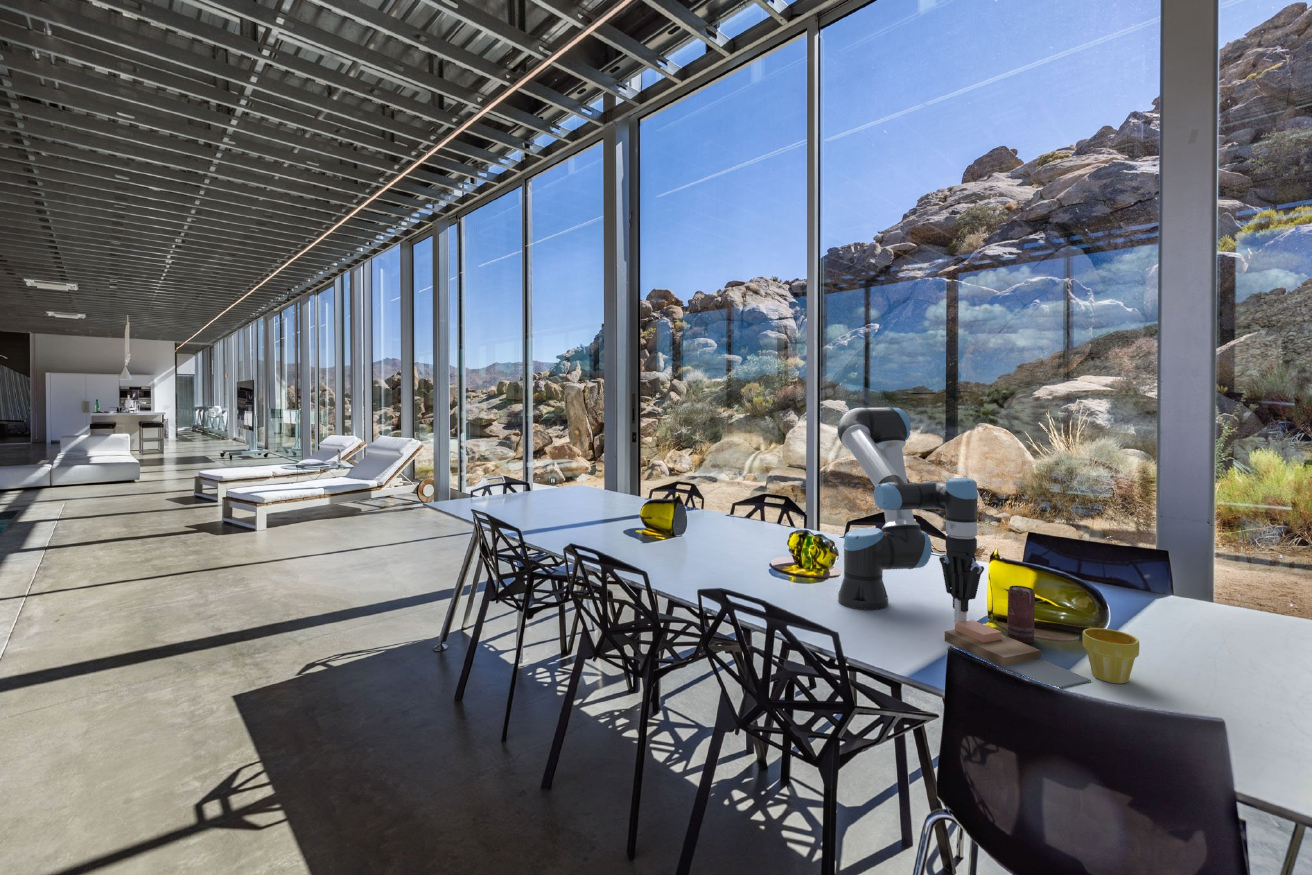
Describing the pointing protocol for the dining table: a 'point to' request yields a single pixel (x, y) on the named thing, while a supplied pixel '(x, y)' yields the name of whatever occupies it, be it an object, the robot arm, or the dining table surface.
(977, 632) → the tile
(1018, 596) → the can
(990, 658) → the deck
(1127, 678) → the plant pot
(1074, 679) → the mat
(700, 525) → the dining table surface
